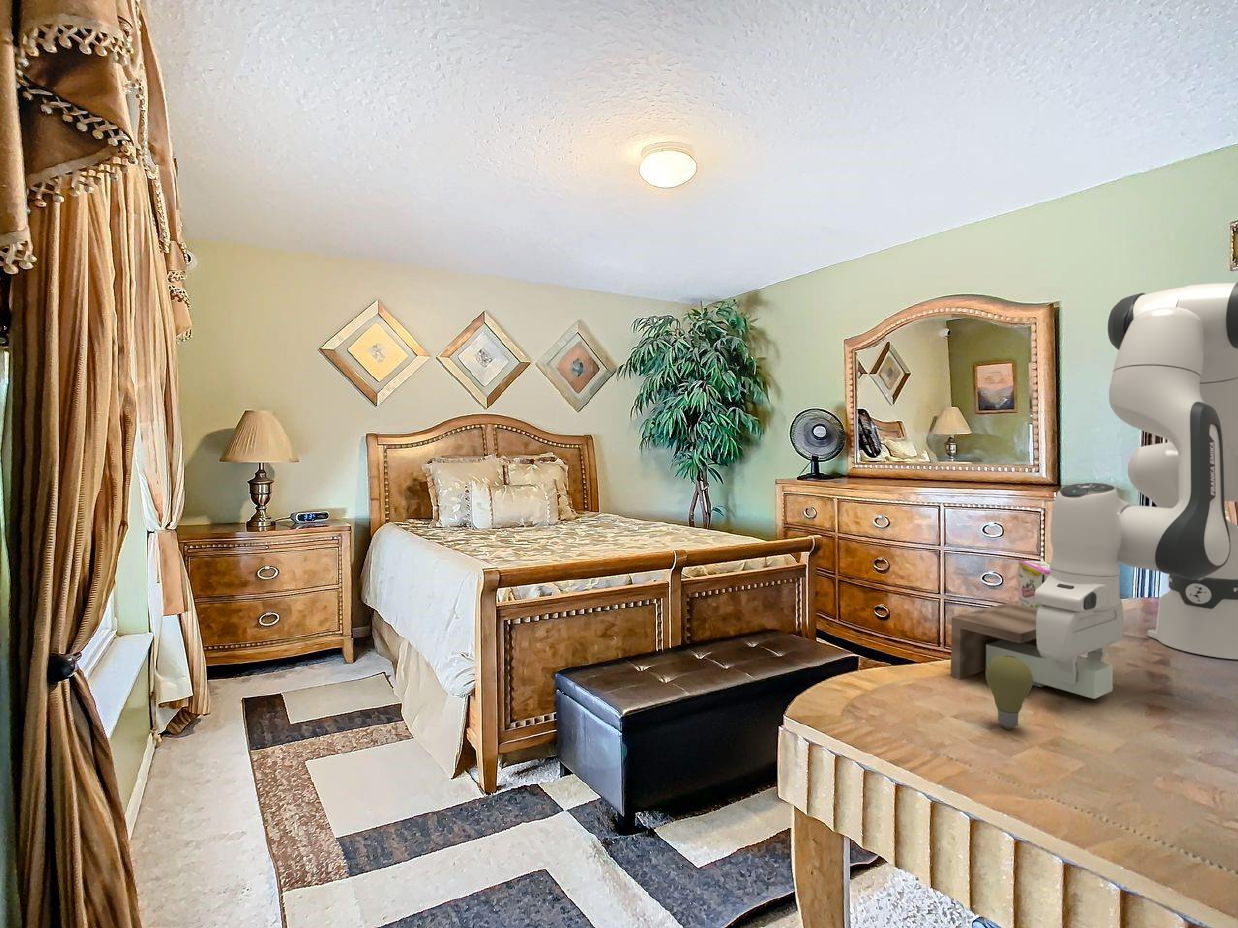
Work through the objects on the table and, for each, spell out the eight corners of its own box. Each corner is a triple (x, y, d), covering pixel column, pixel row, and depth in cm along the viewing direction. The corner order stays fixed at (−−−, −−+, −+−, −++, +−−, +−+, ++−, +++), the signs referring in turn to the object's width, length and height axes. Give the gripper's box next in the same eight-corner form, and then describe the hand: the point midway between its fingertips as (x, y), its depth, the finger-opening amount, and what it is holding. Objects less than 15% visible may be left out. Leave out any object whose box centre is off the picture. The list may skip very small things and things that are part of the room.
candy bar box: (1015, 643, 127) (1017, 559, 126) (1044, 645, 126) (1046, 560, 125) (1040, 663, 116) (1042, 571, 115) (1071, 665, 115) (1074, 572, 114)
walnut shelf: (1008, 656, 119) (1009, 602, 119) (1075, 675, 110) (1077, 616, 109) (950, 676, 110) (951, 617, 109) (1019, 698, 100) (1020, 633, 100)
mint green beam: (1004, 661, 114) (1005, 638, 113) (1112, 690, 100) (1113, 664, 100) (985, 667, 110) (986, 644, 110) (1094, 698, 97) (1094, 672, 97)
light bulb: (1010, 717, 93) (1011, 648, 93) (1041, 735, 88) (1043, 661, 87) (975, 720, 92) (976, 650, 92) (1005, 738, 87) (1006, 664, 86)
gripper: (1091, 577, 109) (1089, 660, 109) (1028, 593, 98) (1025, 684, 98) (1137, 585, 103) (1134, 671, 104) (1075, 602, 92) (1072, 698, 93)
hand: (1081, 678), depth 101 cm, fingers closed on mint green beam, 6 cm apart
